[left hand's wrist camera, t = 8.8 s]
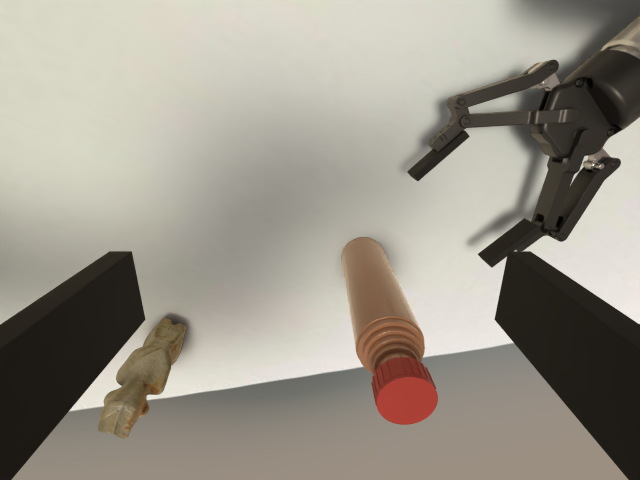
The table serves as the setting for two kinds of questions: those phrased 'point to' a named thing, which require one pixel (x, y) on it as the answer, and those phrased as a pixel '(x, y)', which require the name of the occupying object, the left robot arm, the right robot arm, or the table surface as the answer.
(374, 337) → the bottle
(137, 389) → the sculpture
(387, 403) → the cap
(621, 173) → the table surface
